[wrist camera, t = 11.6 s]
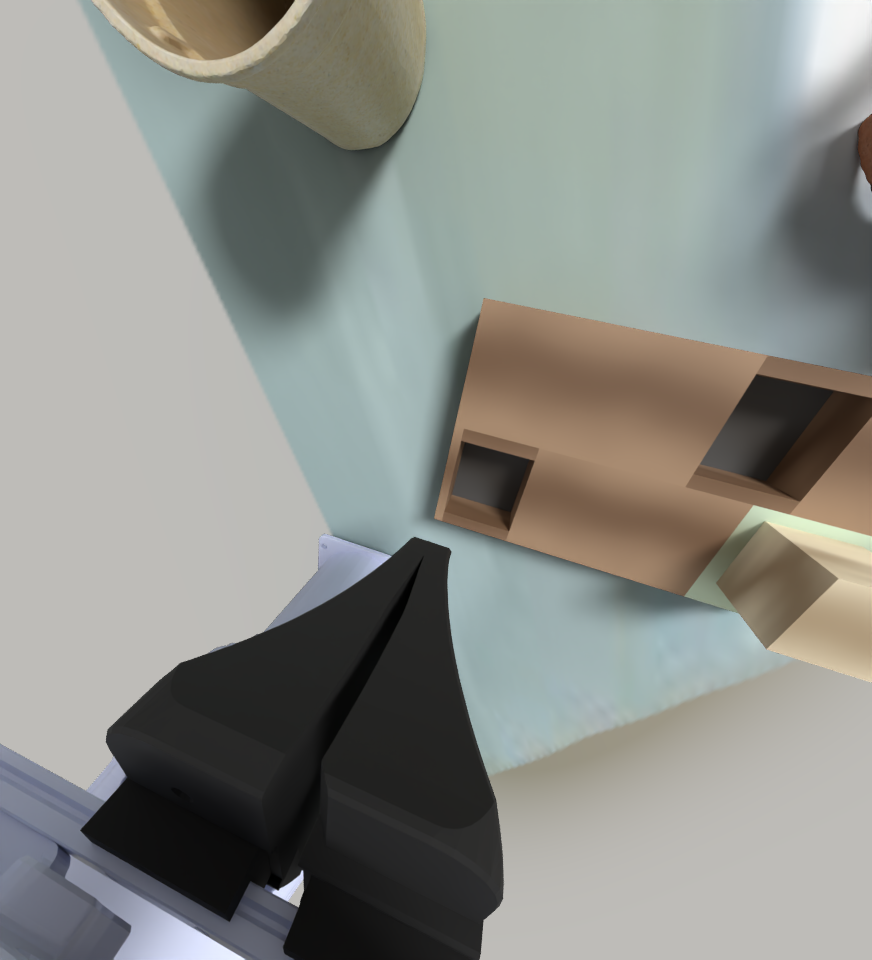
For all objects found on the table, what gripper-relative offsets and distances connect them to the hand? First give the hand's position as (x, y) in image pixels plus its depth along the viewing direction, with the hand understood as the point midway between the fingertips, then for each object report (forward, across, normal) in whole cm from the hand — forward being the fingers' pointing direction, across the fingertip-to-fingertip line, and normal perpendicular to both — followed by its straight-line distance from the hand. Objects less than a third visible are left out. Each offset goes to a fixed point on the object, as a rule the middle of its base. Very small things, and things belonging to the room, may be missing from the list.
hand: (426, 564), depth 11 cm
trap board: (+10, -9, -2) cm, 14 cm away
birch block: (+8, -16, 0) cm, 18 cm away
